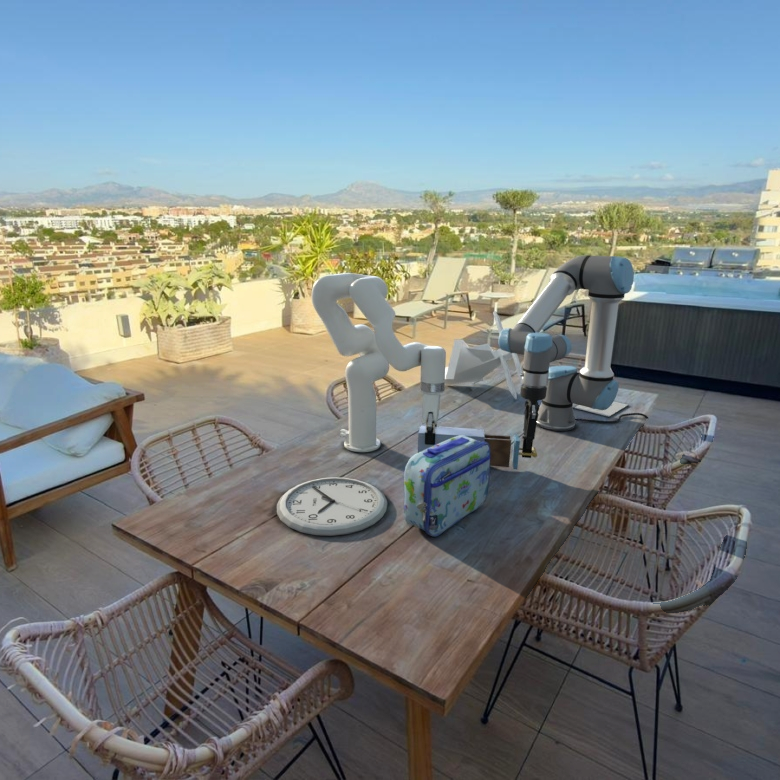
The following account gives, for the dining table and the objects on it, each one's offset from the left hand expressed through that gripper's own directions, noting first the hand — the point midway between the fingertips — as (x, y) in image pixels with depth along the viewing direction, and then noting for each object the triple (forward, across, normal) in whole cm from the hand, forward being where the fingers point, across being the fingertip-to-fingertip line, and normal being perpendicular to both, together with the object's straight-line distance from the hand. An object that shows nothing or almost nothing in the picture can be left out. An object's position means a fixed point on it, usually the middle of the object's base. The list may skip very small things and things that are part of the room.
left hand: (430, 439), depth 167 cm
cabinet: (+8, 0, +6) cm, 10 cm away
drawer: (+7, 0, +21) cm, 22 cm away
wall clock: (+8, +31, -25) cm, 41 cm away
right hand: (+4, 0, +30) cm, 30 cm away
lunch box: (+8, +33, +6) cm, 34 cm away
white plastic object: (+8, -80, +18) cm, 83 cm away
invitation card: (+9, -69, +70) cm, 99 cm away
